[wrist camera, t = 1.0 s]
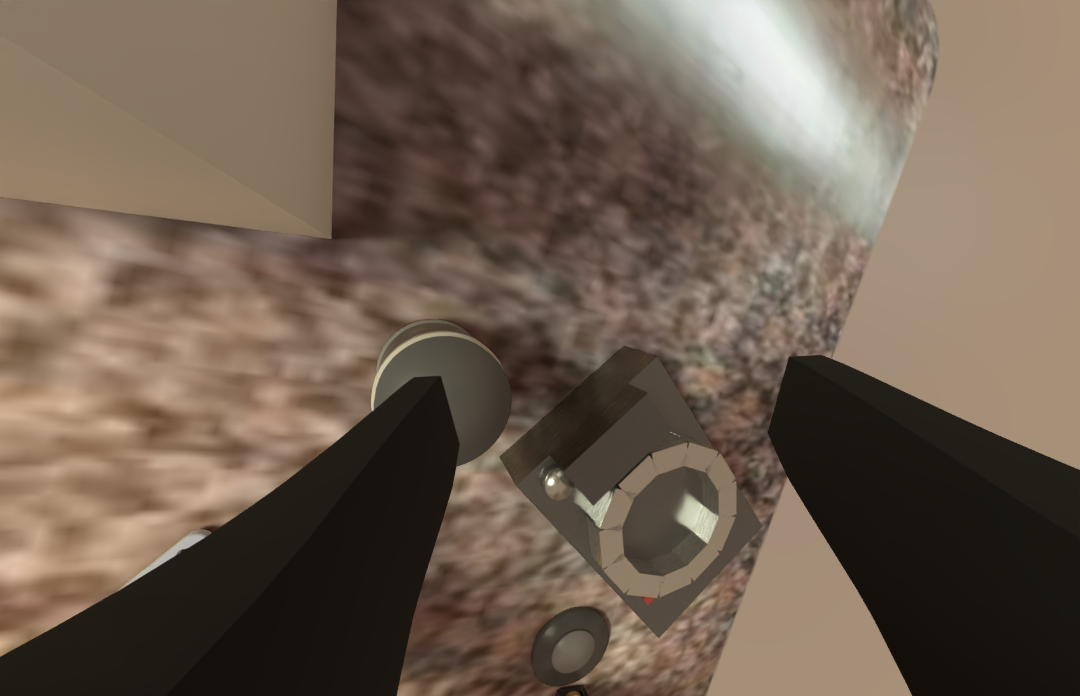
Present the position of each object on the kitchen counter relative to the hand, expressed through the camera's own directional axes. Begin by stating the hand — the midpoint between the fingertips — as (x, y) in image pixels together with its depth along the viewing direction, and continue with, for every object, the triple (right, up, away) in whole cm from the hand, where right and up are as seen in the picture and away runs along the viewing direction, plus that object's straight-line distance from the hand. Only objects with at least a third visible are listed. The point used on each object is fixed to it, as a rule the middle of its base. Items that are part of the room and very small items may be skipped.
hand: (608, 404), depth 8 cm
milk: (-15, +12, +5) cm, 20 cm away
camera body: (+4, -7, +15) cm, 17 cm away
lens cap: (0, -17, +16) cm, 23 cm away
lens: (-7, 0, +10) cm, 12 cm away
